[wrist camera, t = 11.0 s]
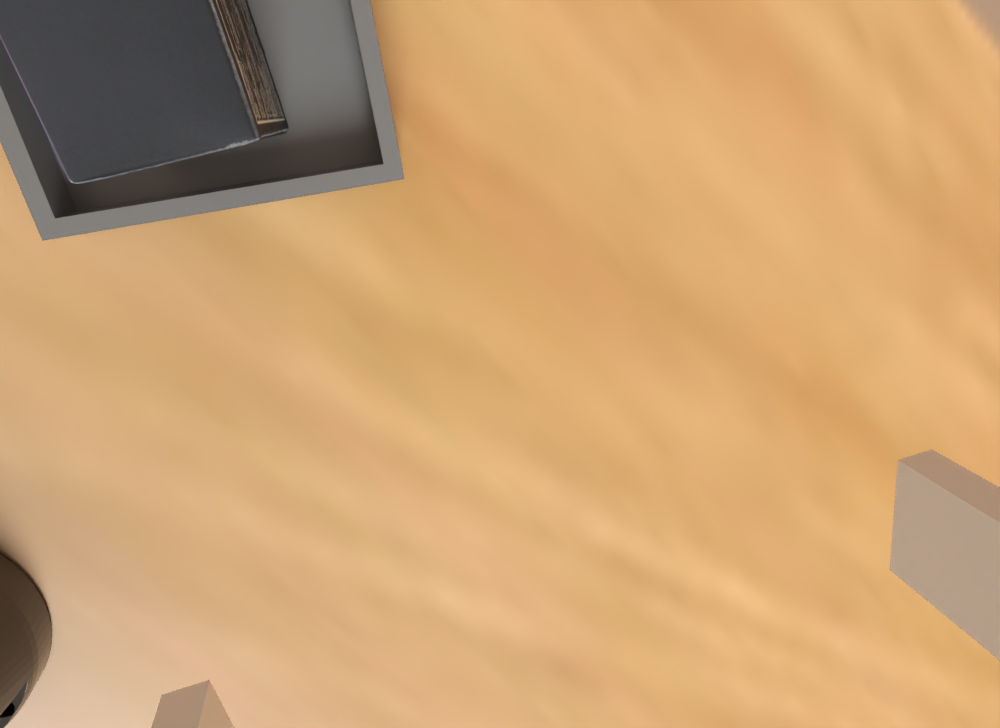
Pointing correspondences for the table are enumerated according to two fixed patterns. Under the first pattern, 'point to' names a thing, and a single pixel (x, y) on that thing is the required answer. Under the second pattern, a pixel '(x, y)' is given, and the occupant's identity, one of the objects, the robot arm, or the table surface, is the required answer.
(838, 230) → the table surface
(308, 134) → the tray
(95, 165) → the small box
